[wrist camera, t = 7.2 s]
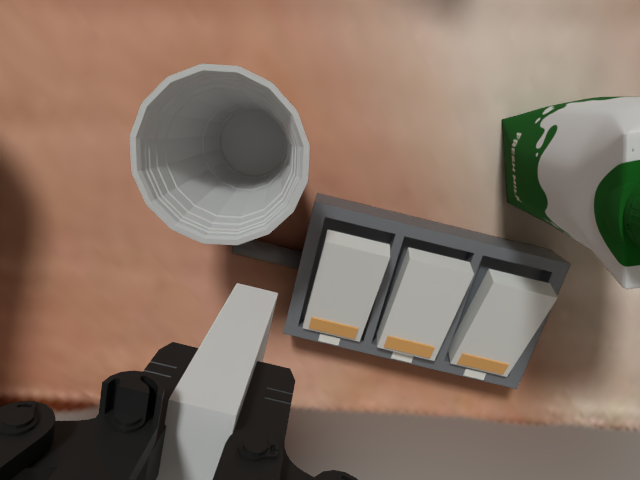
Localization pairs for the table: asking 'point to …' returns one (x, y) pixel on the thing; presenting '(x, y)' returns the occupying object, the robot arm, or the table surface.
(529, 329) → the rocker
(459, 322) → the grey compartment tray
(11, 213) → the table surface
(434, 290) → the rocker
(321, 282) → the rocker
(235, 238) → the plastic cup
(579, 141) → the milk carton
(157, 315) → the table surface
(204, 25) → the table surface
